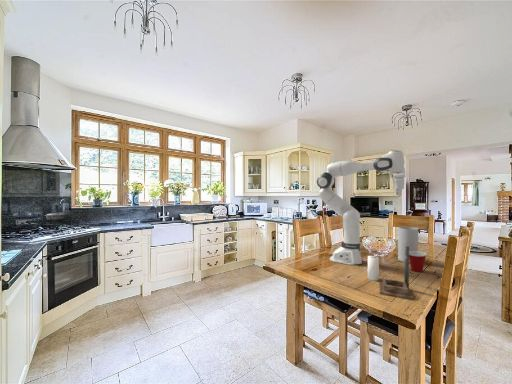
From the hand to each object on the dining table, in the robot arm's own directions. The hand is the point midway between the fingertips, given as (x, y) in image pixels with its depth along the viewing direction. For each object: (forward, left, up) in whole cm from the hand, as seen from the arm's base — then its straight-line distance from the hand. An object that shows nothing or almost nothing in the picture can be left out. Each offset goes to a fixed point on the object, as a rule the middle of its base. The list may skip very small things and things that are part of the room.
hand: (398, 195), depth 153 cm
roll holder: (-5, -39, -50) cm, 63 cm away
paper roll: (-15, -25, -50) cm, 58 cm away
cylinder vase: (+9, +25, -50) cm, 57 cm away
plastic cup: (+11, +3, -50) cm, 51 cm away
